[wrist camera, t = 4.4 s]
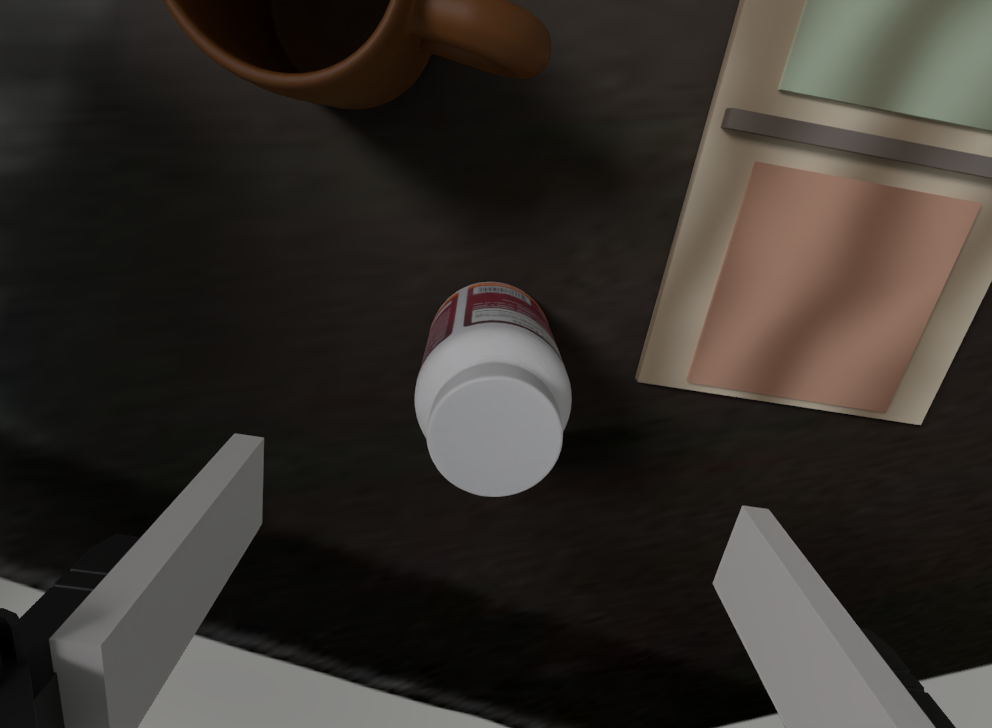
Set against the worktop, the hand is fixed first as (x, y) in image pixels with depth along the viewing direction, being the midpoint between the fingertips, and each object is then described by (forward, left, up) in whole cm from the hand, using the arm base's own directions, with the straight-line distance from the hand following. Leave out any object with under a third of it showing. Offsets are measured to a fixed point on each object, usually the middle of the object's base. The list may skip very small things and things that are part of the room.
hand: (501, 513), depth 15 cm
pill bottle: (0, 0, -15) cm, 15 cm away
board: (+16, +12, -15) cm, 25 cm away
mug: (-6, +13, -15) cm, 21 cm away
